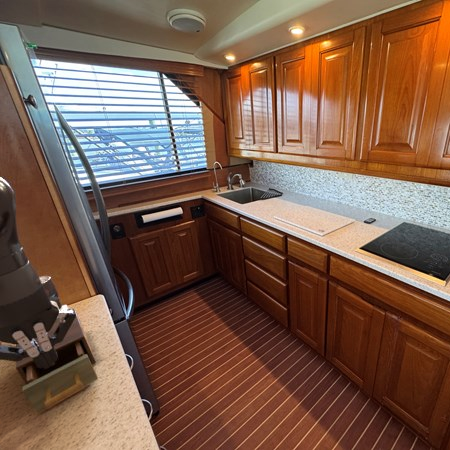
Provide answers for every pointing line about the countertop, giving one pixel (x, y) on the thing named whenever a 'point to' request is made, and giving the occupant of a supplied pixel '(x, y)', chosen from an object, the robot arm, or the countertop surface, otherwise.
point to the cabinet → (60, 344)
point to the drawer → (59, 378)
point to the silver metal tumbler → (49, 286)
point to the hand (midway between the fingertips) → (49, 364)
